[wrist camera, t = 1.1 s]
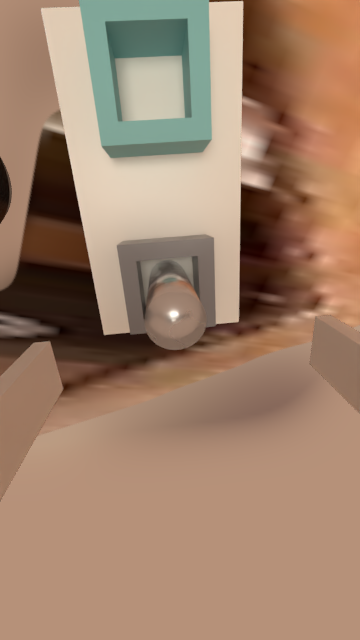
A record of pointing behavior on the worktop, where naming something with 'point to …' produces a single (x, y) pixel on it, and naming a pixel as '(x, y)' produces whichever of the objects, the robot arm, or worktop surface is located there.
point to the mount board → (155, 173)
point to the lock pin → (173, 308)
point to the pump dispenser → (4, 191)
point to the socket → (149, 41)
